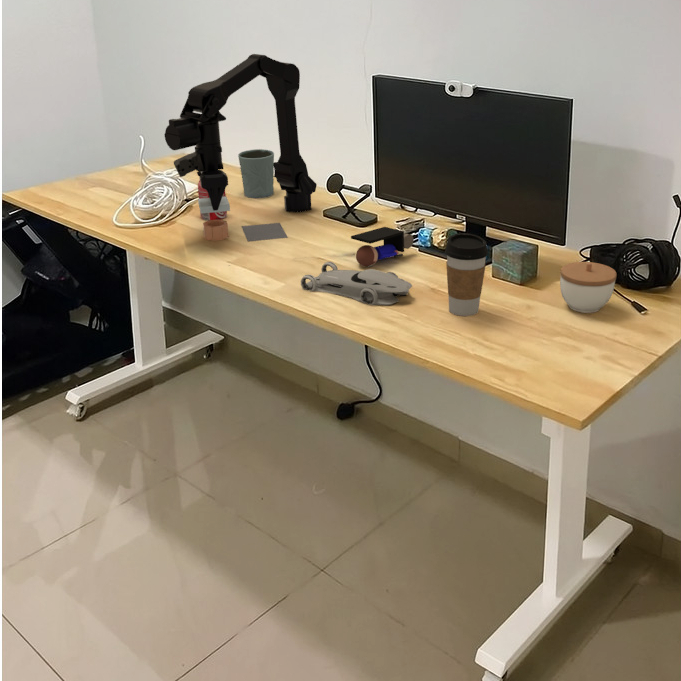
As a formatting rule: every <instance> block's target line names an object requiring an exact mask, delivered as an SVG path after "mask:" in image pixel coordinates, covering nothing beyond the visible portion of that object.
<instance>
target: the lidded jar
mask: <svg viewBox="0 0 681 681" xmlns="http://www.w3.org/2000/svg"><path fill="white" fill-rule="evenodd" d="M617 276H618V274H617V272H616V270H615V269H614V268H612V267H610V266H609V265H606V264H602V263H597V262H590V261H576V262H575V261H574V262H569V263H567V264H564V265H563V266H562V267H561V269H560V280H559V281H560V282H559V287H560V293H561V296H562V299H563V300H564V302H565V303H566V304H567V305H568V307H569V309H571V310H572V311H574V312H578V313H583V314H590V313H591V314H593V313H596V312H599V311H600V309H601V308H603V307H604V306H606V305H607V303H608V302H609V301H610V300H611V297H612V295H613V292H614V290H615V283H616V280H617Z"/></svg>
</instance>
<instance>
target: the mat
mask: <svg viewBox="0 0 681 681" xmlns="http://www.w3.org/2000/svg"><path fill="white" fill-rule="evenodd" d="M240 227H241V229H242V231H243V234H244V236H245V239H246V241H247V242H256V241H257V242H258V241H266V240H267V241H268V240H269V241H271V240H278V239H288V238H289V237H288V235H287V234H286V231H285V229H284V228H283V226H282V224H281V222H274V223H262V224H251V225H250V224H249V225H241V226H240Z"/></svg>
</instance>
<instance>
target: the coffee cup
mask: <svg viewBox="0 0 681 681" xmlns="http://www.w3.org/2000/svg"><path fill="white" fill-rule="evenodd" d="M446 242H447V243H446V247H445V249H444V250H445V251H444V253H445V255H446V262H445V265H446V278H447V296H448V311H449V312H450V313H451V314H452V315H456V316H459V317H470V316H471V317H472V316H475V315H476V314H478V313H479V310H480V304H481V303H480V302H481V295H482V290H483V284H484V283H483V282H484V277H485V271H486V265H487V264H486V257H487V256H488V255H489V249H488V246H487V241H486V240H485V239H484V238H483V237H481V236H479V235H477V234H472V233H465V232H463V233H454V234H452V235H450V236H448V237H447V241H446Z"/></svg>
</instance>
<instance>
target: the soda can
mask: <svg viewBox="0 0 681 681" xmlns="http://www.w3.org/2000/svg"><path fill="white" fill-rule="evenodd" d="M198 178H199V179H198V180H199V181H198V182H197V192H198V194H197V195H198V199H201V198H209V195H208V192H207V190H205V189H203V188H202V187H201V183H200V177H199V176H198ZM226 194H227V193H226V190H225V191H224V194H223V196H222V197H224V196H226V197H227V195H226ZM199 213H200V219H201V220H203V221H206V222H207V221H209V220H218V219H219V220H224V219H226V218H228V216H227V215H228V211H223V212H212V213H201V212H200V211H199Z"/></svg>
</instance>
